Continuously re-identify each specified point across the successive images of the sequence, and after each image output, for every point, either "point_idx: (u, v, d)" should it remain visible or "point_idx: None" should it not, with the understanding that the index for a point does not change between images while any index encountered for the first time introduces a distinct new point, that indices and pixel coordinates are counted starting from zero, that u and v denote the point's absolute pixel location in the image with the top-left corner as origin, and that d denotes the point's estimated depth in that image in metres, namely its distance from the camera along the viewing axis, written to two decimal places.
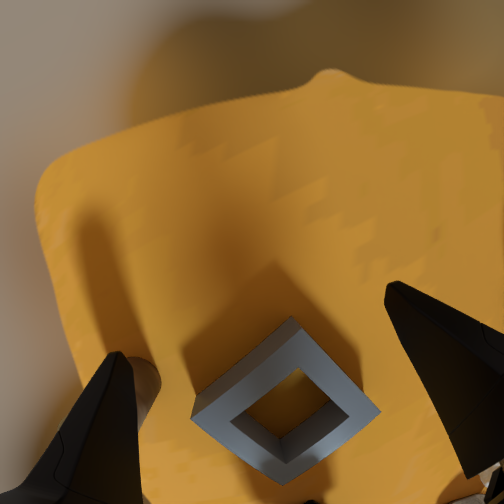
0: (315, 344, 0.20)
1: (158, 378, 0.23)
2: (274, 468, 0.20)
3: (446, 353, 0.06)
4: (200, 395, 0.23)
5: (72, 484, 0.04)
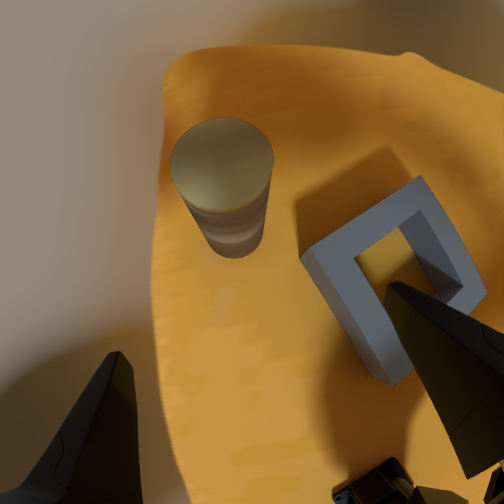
0: (431, 193, 0.19)
1: None
2: (391, 348, 0.17)
3: (446, 353, 0.06)
4: None
5: (72, 483, 0.04)
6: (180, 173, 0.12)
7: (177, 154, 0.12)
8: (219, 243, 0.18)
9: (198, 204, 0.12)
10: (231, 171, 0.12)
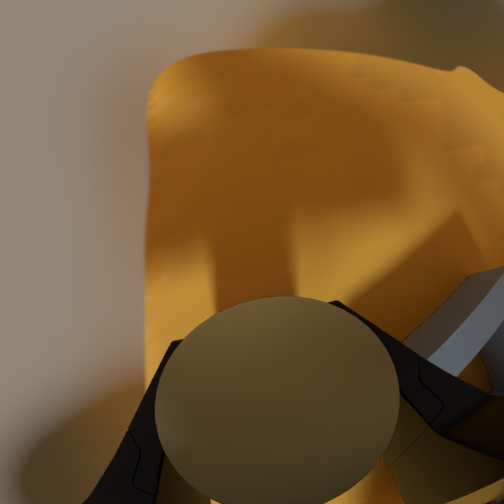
0: None
1: None
2: None
3: None
4: None
5: (155, 489, 0.04)
6: (187, 453, 0.04)
7: (170, 405, 0.04)
8: None
9: None
10: (308, 451, 0.04)
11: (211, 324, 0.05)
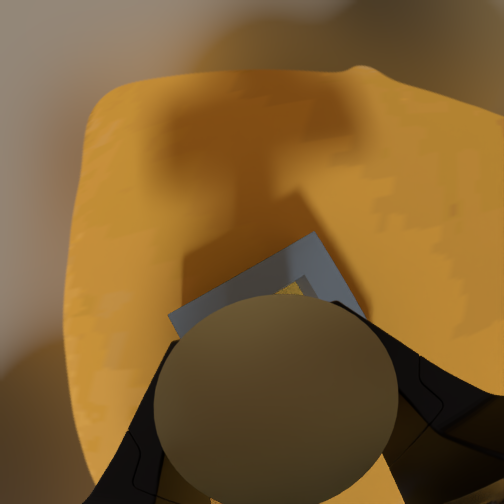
0: (326, 253, 0.19)
1: None
2: None
3: None
4: None
5: (156, 489, 0.04)
6: (185, 451, 0.04)
7: (169, 403, 0.04)
8: None
9: None
10: (307, 449, 0.04)
11: (210, 322, 0.05)
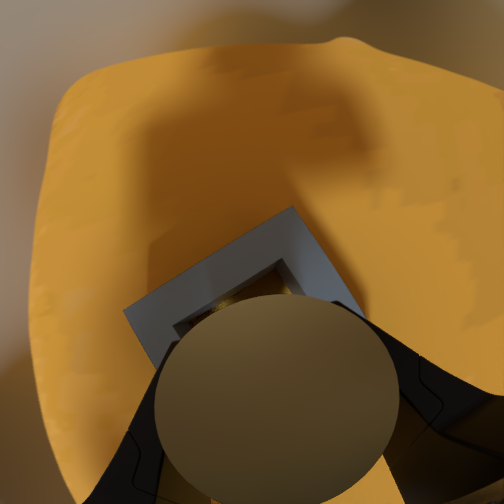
0: (308, 231, 0.16)
1: None
2: None
3: None
4: None
5: (156, 489, 0.04)
6: (186, 452, 0.04)
7: (170, 404, 0.04)
8: None
9: None
10: (307, 450, 0.04)
11: (211, 322, 0.05)
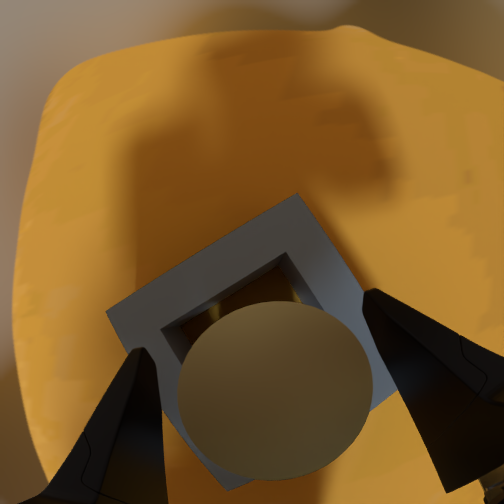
0: (315, 221, 0.14)
1: None
2: None
3: (421, 366, 0.06)
4: None
5: (101, 487, 0.04)
6: (202, 427, 0.06)
7: (190, 388, 0.06)
8: None
9: (241, 473, 0.06)
10: (299, 425, 0.06)
11: (222, 323, 0.06)
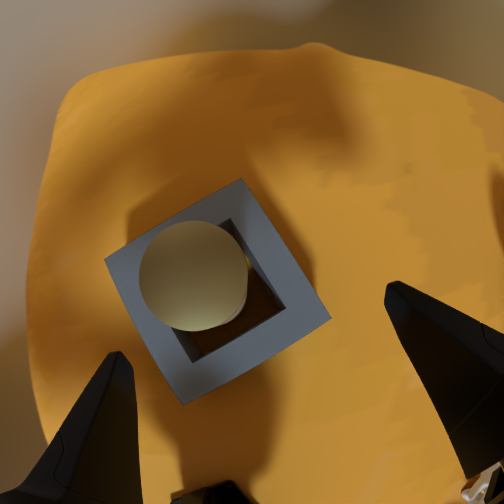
0: (253, 197, 0.20)
1: None
2: (176, 366, 0.17)
3: (446, 353, 0.06)
4: None
5: (72, 483, 0.04)
6: (150, 290, 0.11)
7: (146, 266, 0.11)
8: None
9: (169, 325, 0.11)
10: (202, 291, 0.11)
11: (165, 231, 0.12)
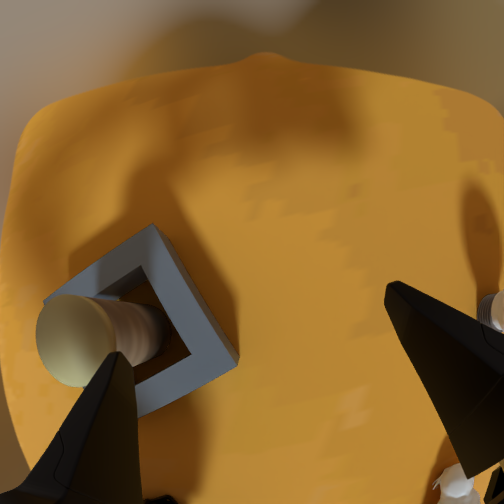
0: (162, 243, 0.19)
1: (169, 331, 0.22)
2: None
3: (446, 353, 0.06)
4: None
5: (72, 484, 0.04)
6: (43, 350, 0.11)
7: (39, 330, 0.11)
8: None
9: None
10: (76, 356, 0.11)
11: (50, 302, 0.12)
